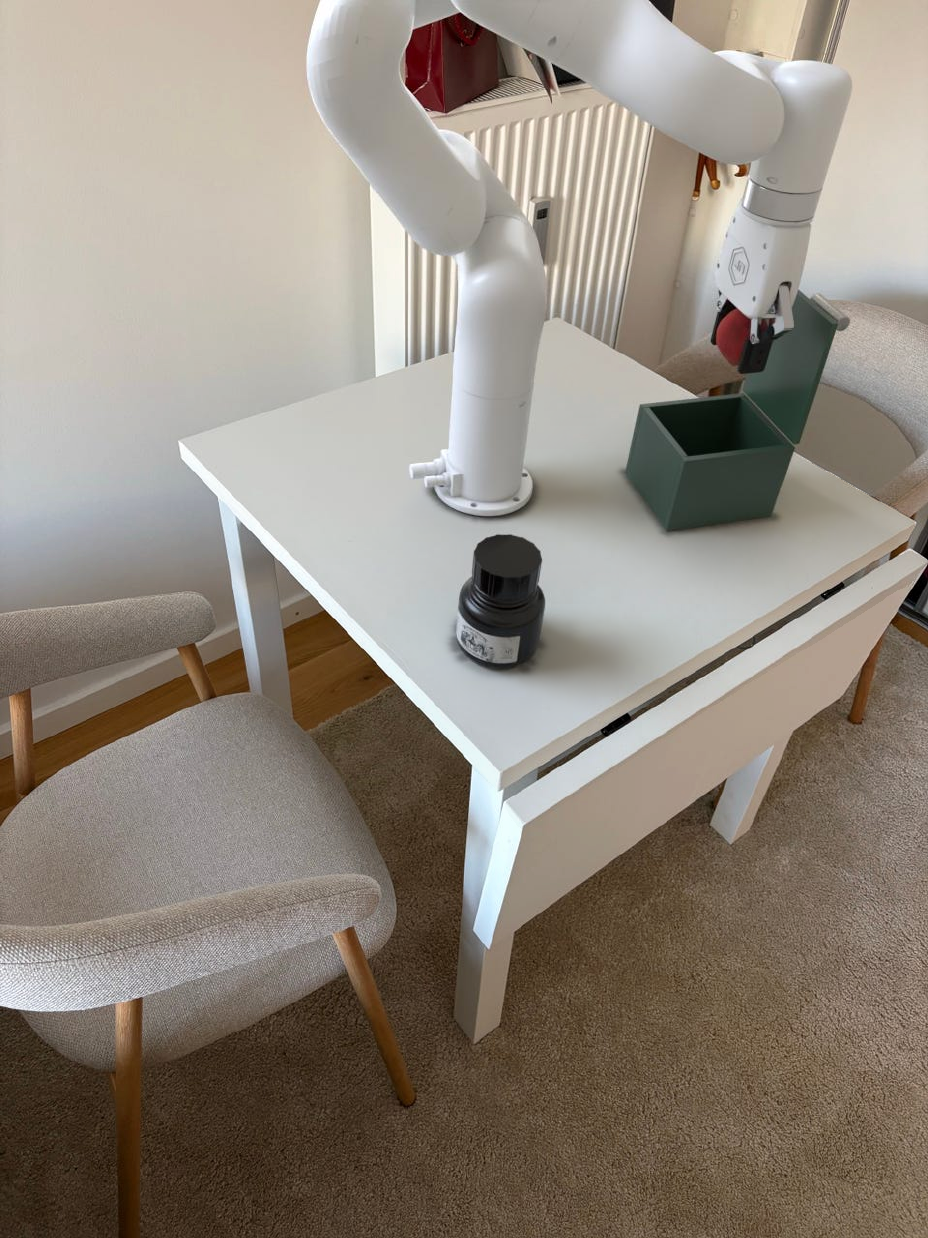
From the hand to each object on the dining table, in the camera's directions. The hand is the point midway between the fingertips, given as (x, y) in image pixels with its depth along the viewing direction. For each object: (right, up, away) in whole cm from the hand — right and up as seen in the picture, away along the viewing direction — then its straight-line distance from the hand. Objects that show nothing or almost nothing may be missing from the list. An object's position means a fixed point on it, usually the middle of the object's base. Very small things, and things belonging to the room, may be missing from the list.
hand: (736, 355), depth 114 cm
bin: (-1, -14, +14) cm, 20 cm away
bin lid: (+6, 0, +3) cm, 7 cm away
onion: (0, -1, +1) cm, 1 cm away
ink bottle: (-28, -33, -8) cm, 44 cm away
